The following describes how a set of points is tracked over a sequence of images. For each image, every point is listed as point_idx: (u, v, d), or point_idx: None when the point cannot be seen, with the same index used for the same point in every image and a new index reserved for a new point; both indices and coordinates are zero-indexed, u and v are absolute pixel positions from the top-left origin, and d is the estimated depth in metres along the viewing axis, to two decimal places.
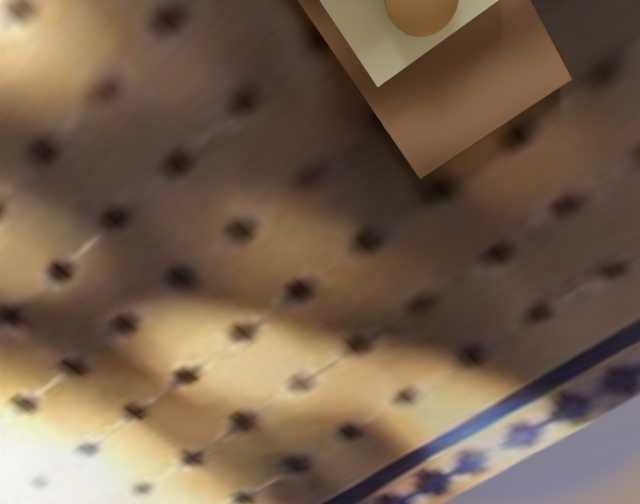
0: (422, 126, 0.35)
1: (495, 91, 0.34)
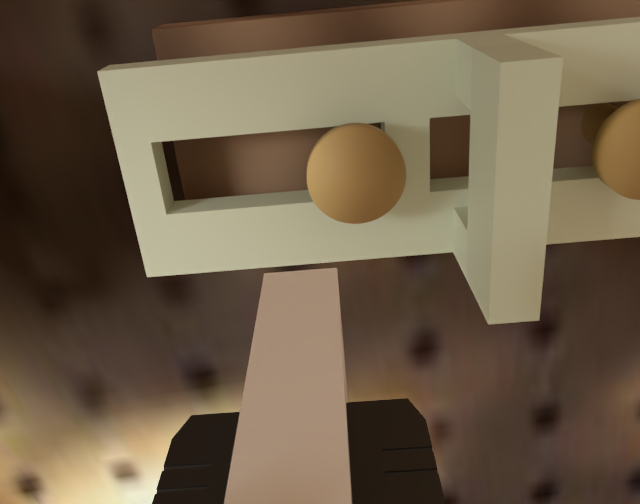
0: None
1: None
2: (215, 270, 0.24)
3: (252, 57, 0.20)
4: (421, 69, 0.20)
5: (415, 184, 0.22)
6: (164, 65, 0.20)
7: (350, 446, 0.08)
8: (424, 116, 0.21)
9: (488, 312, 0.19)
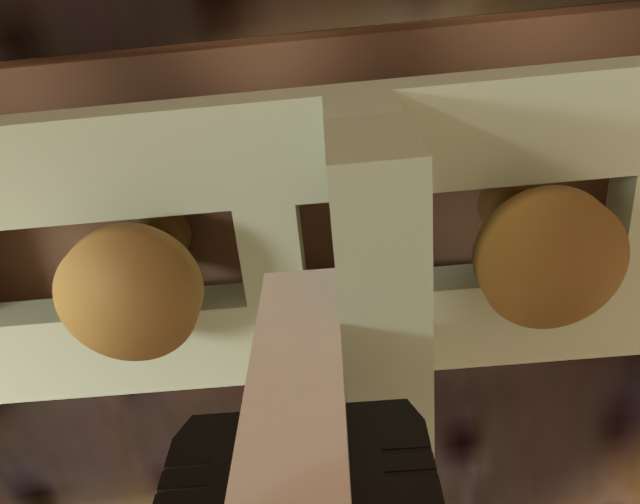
0: None
1: None
2: (25, 399, 0.18)
3: (29, 123, 0.14)
4: (275, 138, 0.14)
5: None
6: None
7: (350, 446, 0.08)
8: (287, 203, 0.15)
9: None
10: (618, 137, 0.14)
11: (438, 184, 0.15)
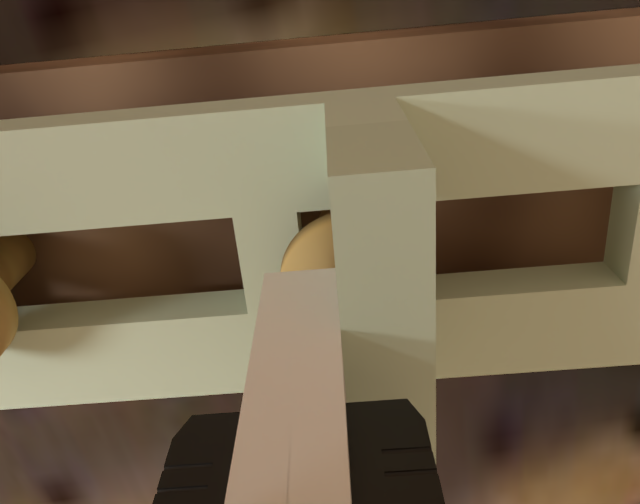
0: None
1: None
2: (24, 405, 0.17)
3: (29, 128, 0.14)
4: (277, 145, 0.14)
5: None
6: None
7: (350, 446, 0.08)
8: (288, 210, 0.15)
9: None
10: (623, 146, 0.14)
11: (441, 192, 0.14)
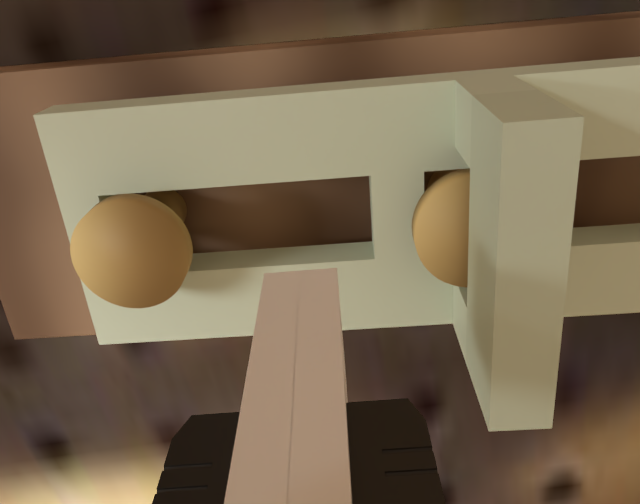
0: None
1: None
2: (177, 338, 0.21)
3: (213, 100, 0.17)
4: (413, 115, 0.17)
5: (407, 247, 0.19)
6: (110, 108, 0.17)
7: (350, 446, 0.08)
8: (417, 169, 0.18)
9: (489, 417, 0.15)
10: None
11: None
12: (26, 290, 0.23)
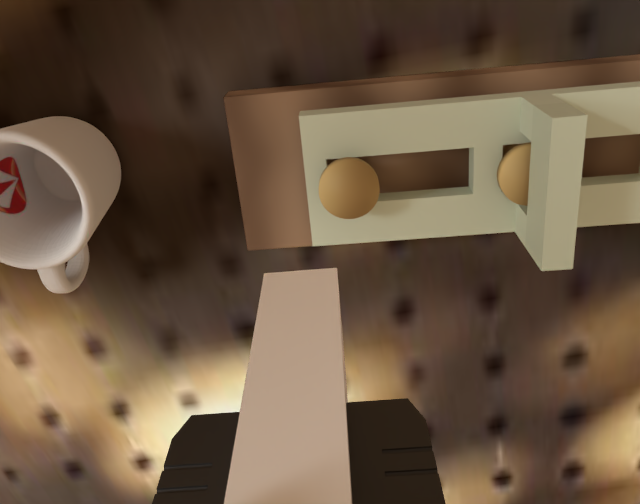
0: None
1: None
2: (357, 242, 0.36)
3: (394, 107, 0.33)
4: (498, 115, 0.33)
5: (491, 187, 0.35)
6: (339, 112, 0.33)
7: (350, 446, 0.08)
8: (499, 144, 0.34)
9: (541, 263, 0.31)
10: None
11: None
12: (260, 219, 0.38)
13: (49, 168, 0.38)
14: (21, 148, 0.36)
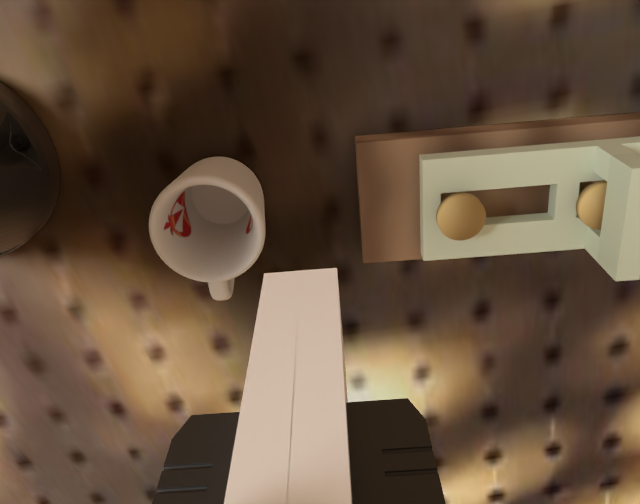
0: None
1: None
2: (458, 257, 0.46)
3: (497, 153, 0.42)
4: (578, 159, 0.42)
5: (569, 214, 0.44)
6: (455, 157, 0.42)
7: (350, 446, 0.08)
8: (577, 181, 0.43)
9: (615, 275, 0.40)
10: None
11: None
12: (376, 238, 0.47)
13: (203, 197, 0.47)
14: None
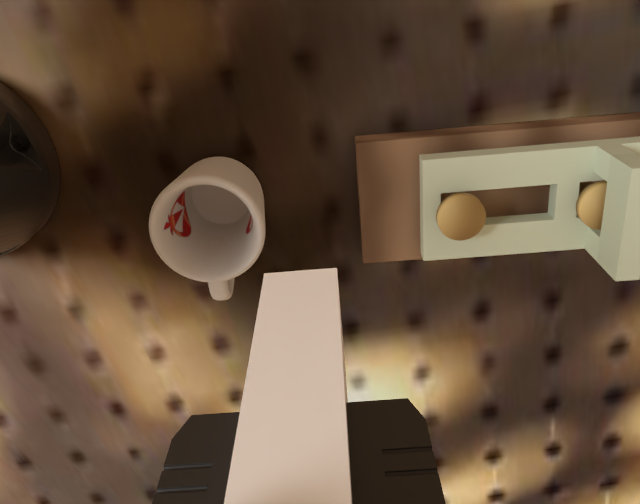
0: None
1: None
2: (458, 257, 0.46)
3: (497, 153, 0.42)
4: (578, 159, 0.42)
5: (569, 214, 0.44)
6: (455, 157, 0.42)
7: (350, 446, 0.08)
8: (577, 181, 0.43)
9: (615, 275, 0.40)
10: None
11: None
12: (376, 238, 0.47)
13: (203, 197, 0.47)
14: None
